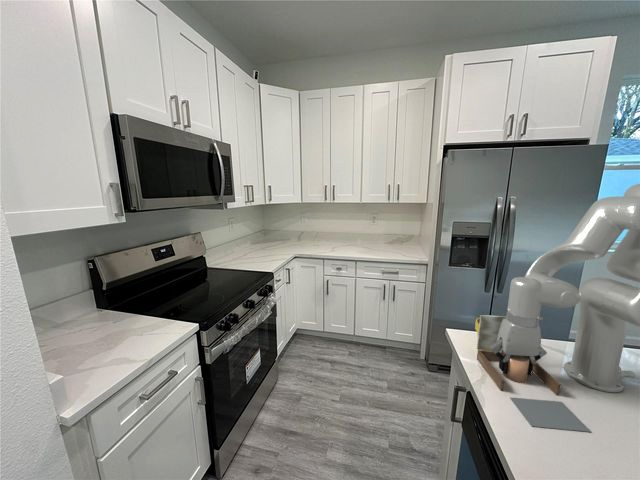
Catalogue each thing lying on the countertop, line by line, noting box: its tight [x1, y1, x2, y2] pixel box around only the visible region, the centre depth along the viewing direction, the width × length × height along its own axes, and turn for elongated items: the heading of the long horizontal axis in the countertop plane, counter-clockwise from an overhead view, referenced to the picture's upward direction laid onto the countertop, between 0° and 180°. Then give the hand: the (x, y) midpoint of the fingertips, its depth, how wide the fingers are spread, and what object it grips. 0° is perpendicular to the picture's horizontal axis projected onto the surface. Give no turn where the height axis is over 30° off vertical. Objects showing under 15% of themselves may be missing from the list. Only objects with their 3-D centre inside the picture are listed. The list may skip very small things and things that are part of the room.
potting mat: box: [509, 396, 592, 433], centre depth 66 cm, size 13×9×1 cm
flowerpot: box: [502, 355, 529, 384], centre depth 79 cm, size 6×6×7 cm
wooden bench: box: [476, 314, 562, 396], centre depth 79 cm, size 15×15×16 cm
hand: (514, 371), depth 79 cm, fingers closed on flowerpot, 6 cm apart
